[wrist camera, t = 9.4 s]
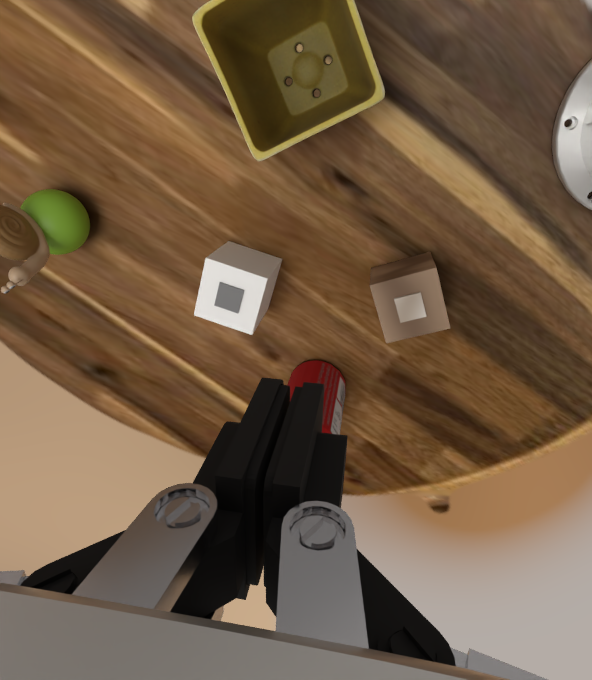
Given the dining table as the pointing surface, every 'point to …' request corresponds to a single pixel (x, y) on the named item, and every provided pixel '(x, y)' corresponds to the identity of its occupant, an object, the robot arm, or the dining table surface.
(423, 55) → the dining table surface
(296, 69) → the flower pot
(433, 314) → the walnut block
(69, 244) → the snail figurine
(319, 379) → the soda can
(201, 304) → the white block
